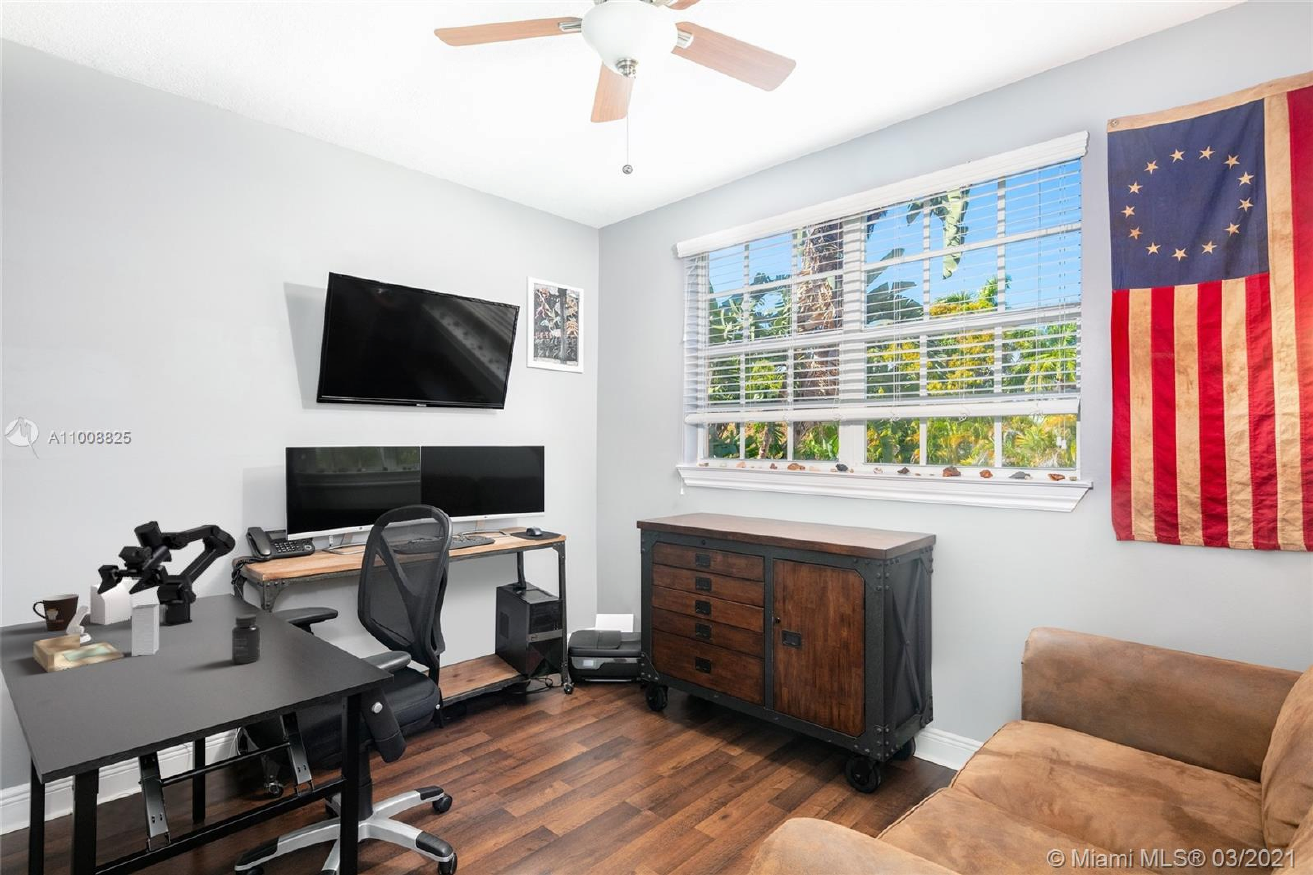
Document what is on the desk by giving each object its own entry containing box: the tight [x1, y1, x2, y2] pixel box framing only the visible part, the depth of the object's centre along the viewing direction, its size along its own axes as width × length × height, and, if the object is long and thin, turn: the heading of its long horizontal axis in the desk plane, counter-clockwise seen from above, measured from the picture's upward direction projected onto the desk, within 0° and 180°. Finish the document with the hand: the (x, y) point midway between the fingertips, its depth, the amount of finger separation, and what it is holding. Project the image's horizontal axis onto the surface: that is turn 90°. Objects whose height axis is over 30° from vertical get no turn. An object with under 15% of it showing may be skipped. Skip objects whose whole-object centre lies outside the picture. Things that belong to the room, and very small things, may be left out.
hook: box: [65, 605, 92, 644], centre depth 201 cm, size 8×12×7 cm
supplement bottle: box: [230, 613, 262, 665], centre depth 182 cm, size 7×7×12 cm
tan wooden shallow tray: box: [33, 634, 125, 674], centre depth 184 cm, size 16×19×4 cm
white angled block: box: [89, 578, 134, 626], centre depth 224 cm, size 11×11×12 cm
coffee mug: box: [32, 593, 80, 633], centre depth 213 cm, size 12×9×10 cm
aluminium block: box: [131, 603, 160, 657], centre depth 188 cm, size 5×5×13 cm
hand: (113, 593), depth 194 cm, fingers open, 9 cm apart
